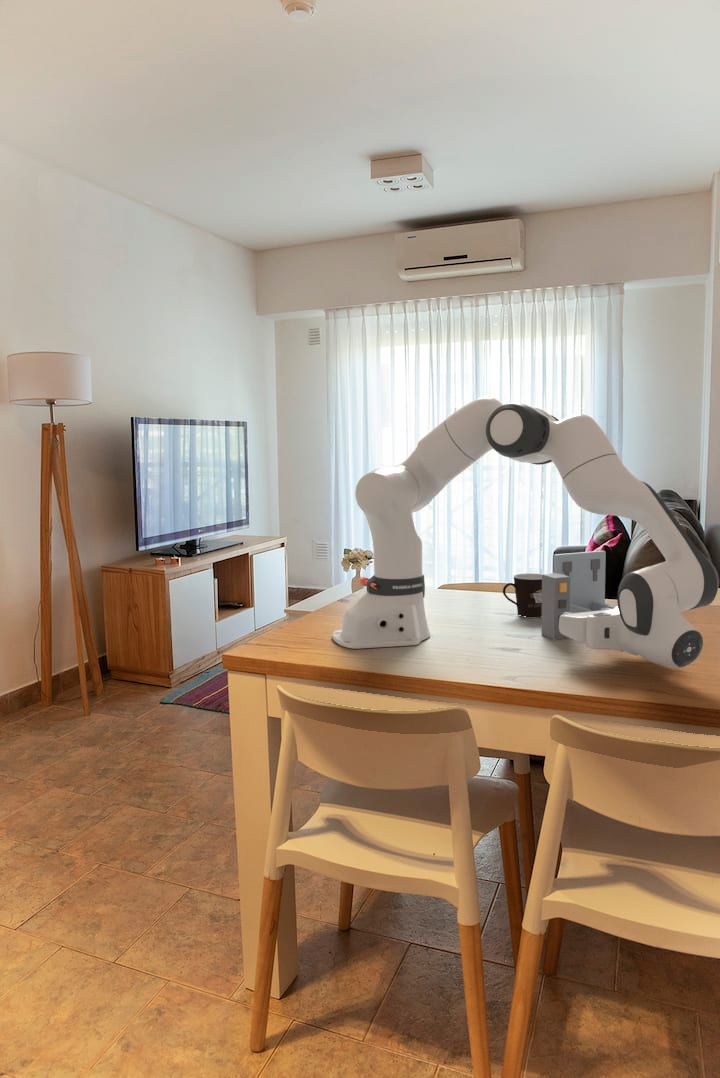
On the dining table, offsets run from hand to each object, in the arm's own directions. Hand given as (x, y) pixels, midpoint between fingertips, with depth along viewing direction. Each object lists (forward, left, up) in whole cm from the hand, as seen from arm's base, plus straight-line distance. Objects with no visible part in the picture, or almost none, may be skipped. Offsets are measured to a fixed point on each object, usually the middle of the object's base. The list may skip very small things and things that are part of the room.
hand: (584, 613), depth 157 cm
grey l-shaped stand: (+13, +16, -8) cm, 22 cm away
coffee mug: (+5, +32, -8) cm, 33 cm away
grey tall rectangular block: (0, +11, -8) cm, 13 cm away
